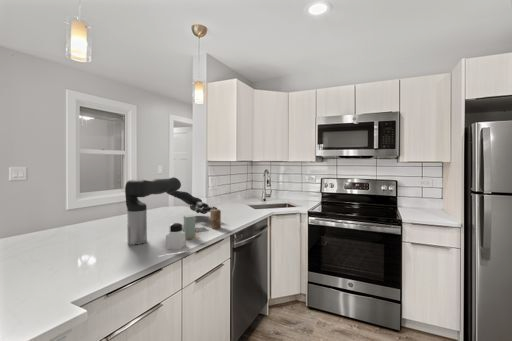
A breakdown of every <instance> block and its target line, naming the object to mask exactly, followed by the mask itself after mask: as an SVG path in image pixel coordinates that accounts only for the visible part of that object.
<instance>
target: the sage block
mask: <svg viewBox="0 0 512 341" xmlns="http://www.w3.org/2000/svg"><path fill="white" fill-rule="evenodd" d="M195 228H196V215H194V214H186V215H183V232H185V238H186V239H190V238H195V234H196V233H195Z"/></svg>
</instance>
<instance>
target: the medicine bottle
mask: <svg viewBox="0 0 512 341" xmlns="http://www.w3.org/2000/svg"><path fill="white" fill-rule="evenodd" d="M168 227H169V228H168V229H169V230H168V231H169V233H168V234H166V235H165V249H166V250H167V249H168V250H181V249H182V248H183V247H185V245H186V241H185V232H184V231H183V224H182V223H180V222H174V223H173V222H172V223H171V224H169V226H168Z"/></svg>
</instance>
